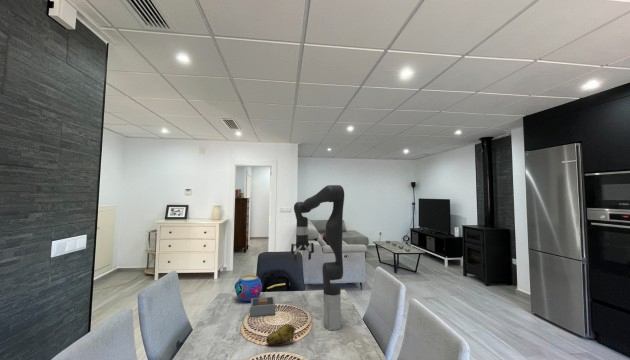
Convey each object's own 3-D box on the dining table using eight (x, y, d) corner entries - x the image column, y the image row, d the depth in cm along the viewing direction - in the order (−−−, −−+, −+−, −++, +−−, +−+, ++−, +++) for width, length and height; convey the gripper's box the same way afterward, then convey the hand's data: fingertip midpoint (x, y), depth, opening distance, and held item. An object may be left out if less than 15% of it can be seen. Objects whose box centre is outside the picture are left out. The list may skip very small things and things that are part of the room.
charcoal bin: (275, 315, 155) (275, 304, 156) (250, 317, 153) (250, 306, 153) (273, 306, 169) (273, 296, 170) (251, 308, 166) (251, 298, 167)
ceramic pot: (233, 298, 185) (233, 275, 186) (258, 294, 192) (258, 272, 193) (237, 306, 169) (237, 282, 170) (264, 302, 176) (264, 279, 177)
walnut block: (267, 311, 159) (267, 300, 160) (258, 311, 158) (258, 301, 158) (266, 307, 164) (266, 297, 164) (258, 308, 163) (258, 298, 163)
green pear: (270, 337, 130) (270, 320, 130) (296, 339, 128) (296, 322, 129) (265, 347, 122) (265, 328, 122) (292, 348, 120) (292, 330, 121)
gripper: (291, 235, 161) (291, 262, 159) (314, 234, 164) (314, 260, 162) (290, 233, 168) (290, 259, 167) (312, 232, 171) (312, 258, 170)
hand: (302, 260), depth 164 cm, fingers open, 8 cm apart
